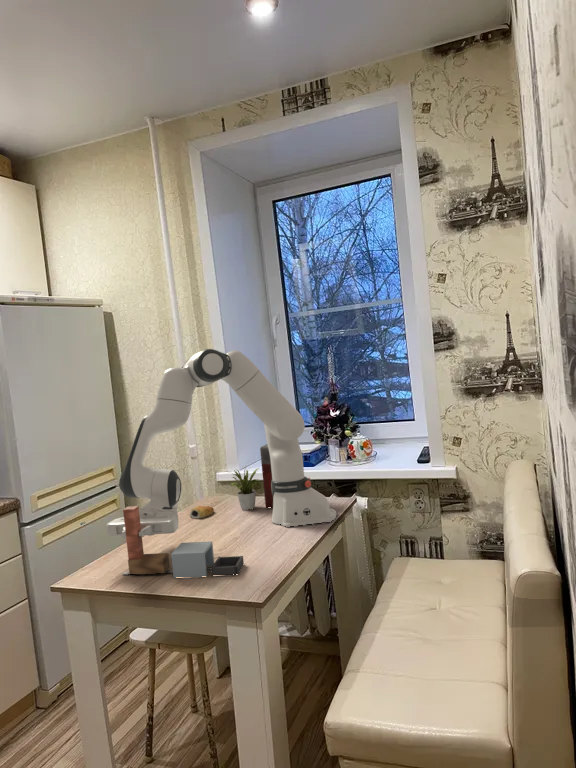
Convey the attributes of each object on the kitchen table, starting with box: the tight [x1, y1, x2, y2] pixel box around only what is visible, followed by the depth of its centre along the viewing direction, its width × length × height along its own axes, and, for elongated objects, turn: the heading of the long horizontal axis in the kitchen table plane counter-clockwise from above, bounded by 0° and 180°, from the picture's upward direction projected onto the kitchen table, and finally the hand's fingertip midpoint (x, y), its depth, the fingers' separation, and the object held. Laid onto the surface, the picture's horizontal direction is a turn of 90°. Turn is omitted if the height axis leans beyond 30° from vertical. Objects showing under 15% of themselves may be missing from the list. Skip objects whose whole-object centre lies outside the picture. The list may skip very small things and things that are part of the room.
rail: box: [122, 568, 212, 576], centre depth 166 cm, size 26×1×1 cm, turn 82°
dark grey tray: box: [210, 555, 245, 577], centre depth 164 cm, size 7×8×2 cm
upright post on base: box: [122, 505, 171, 576], centre depth 166 cm, size 10×4×18 cm, turn 82°
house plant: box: [224, 466, 260, 511], centre depth 225 cm, size 14×14×16 cm
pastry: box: [188, 505, 215, 519], centre depth 222 cm, size 9×7×4 cm
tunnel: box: [170, 540, 215, 579], centre depth 165 cm, size 9×9×7 cm
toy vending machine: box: [259, 443, 273, 509], centre depth 225 cm, size 9×11×28 cm
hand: (132, 534), depth 166 cm, fingers closed on upright post on base, 3 cm apart
